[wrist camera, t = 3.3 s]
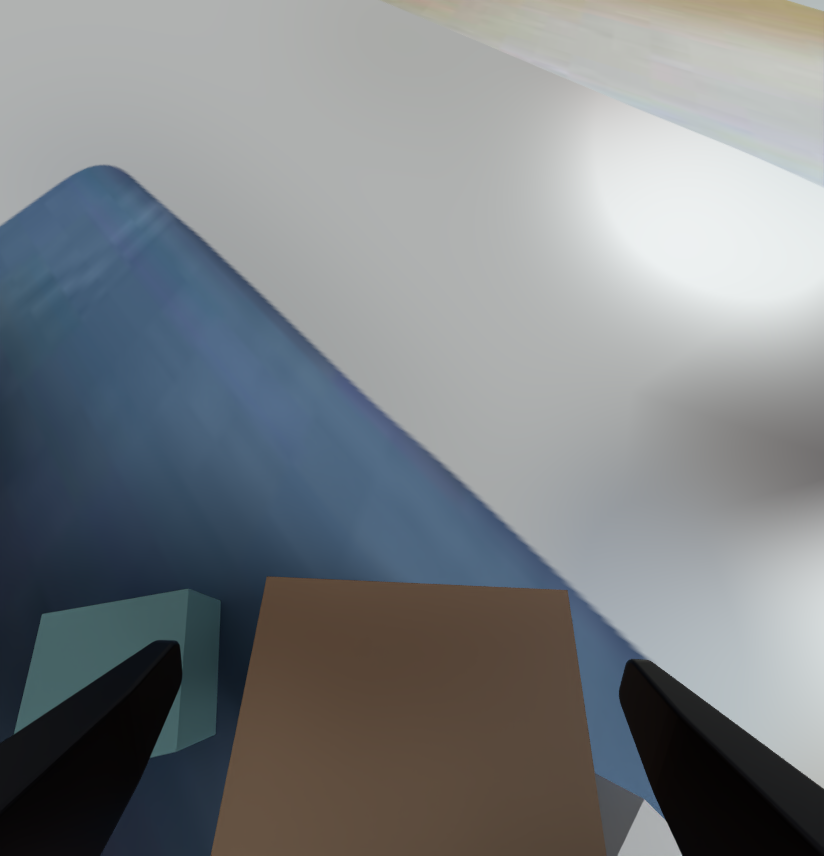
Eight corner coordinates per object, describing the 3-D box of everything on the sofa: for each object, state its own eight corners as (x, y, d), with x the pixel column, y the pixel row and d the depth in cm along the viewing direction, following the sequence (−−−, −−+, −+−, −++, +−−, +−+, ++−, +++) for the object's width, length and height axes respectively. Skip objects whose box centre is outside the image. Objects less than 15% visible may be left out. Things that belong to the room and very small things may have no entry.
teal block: (217, 733, 13) (176, 751, 10) (80, 764, 12) (0, 792, 10) (222, 601, 15) (188, 588, 12) (103, 622, 14) (42, 614, 12)
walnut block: (462, 794, 13) (641, 1087, 4) (315, 790, 12) (163, 1090, 4) (458, 631, 15) (567, 590, 6) (334, 626, 15) (266, 576, 6)
